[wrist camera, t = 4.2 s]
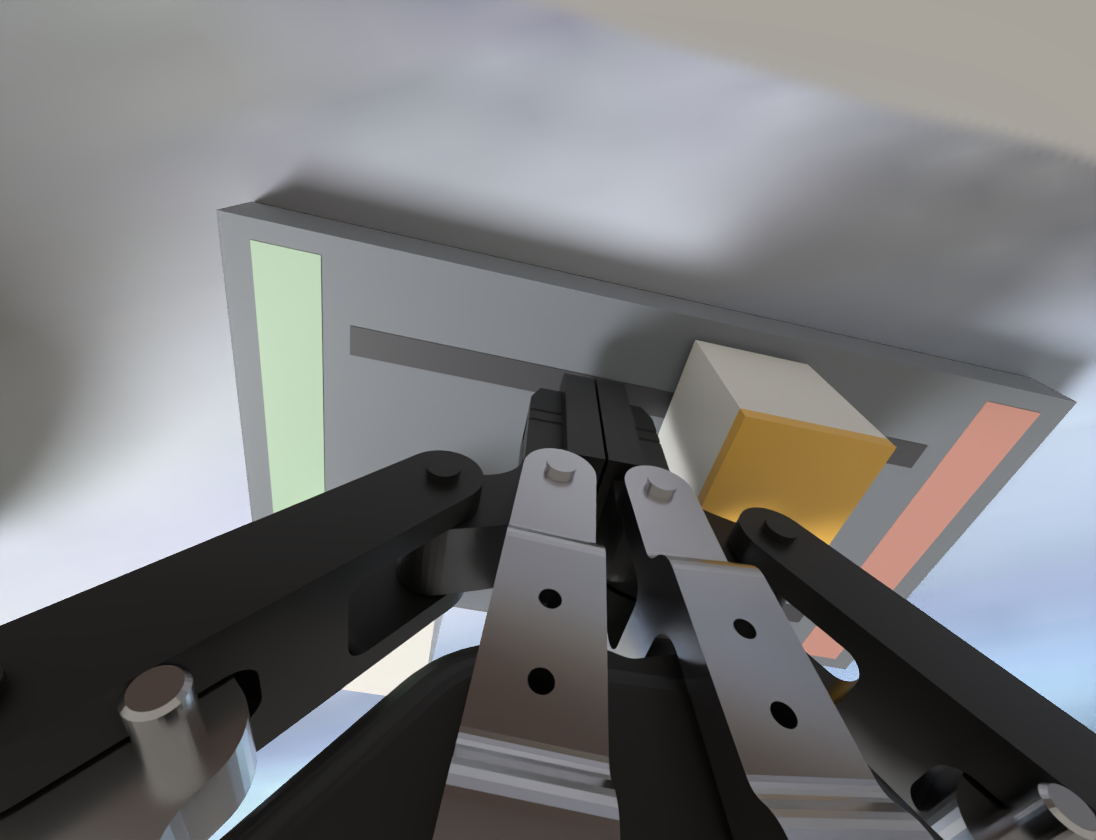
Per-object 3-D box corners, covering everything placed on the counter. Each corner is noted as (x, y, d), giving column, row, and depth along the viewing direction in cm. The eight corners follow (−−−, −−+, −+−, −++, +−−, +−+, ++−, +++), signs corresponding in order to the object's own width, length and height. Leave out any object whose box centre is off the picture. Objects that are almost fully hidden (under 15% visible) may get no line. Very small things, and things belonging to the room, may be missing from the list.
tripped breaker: (807, 364, 12) (896, 447, 9) (743, 486, 14) (796, 590, 11) (695, 339, 12) (745, 416, 9) (644, 468, 14) (671, 569, 11)
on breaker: (460, 515, 15) (436, 610, 12) (446, 601, 17) (422, 700, 14) (362, 498, 15) (312, 590, 12) (359, 586, 17) (315, 685, 14)
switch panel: (1030, 377, 14) (1077, 402, 13) (827, 634, 20) (845, 669, 19) (252, 201, 12) (215, 210, 11) (279, 544, 18) (258, 576, 17)
